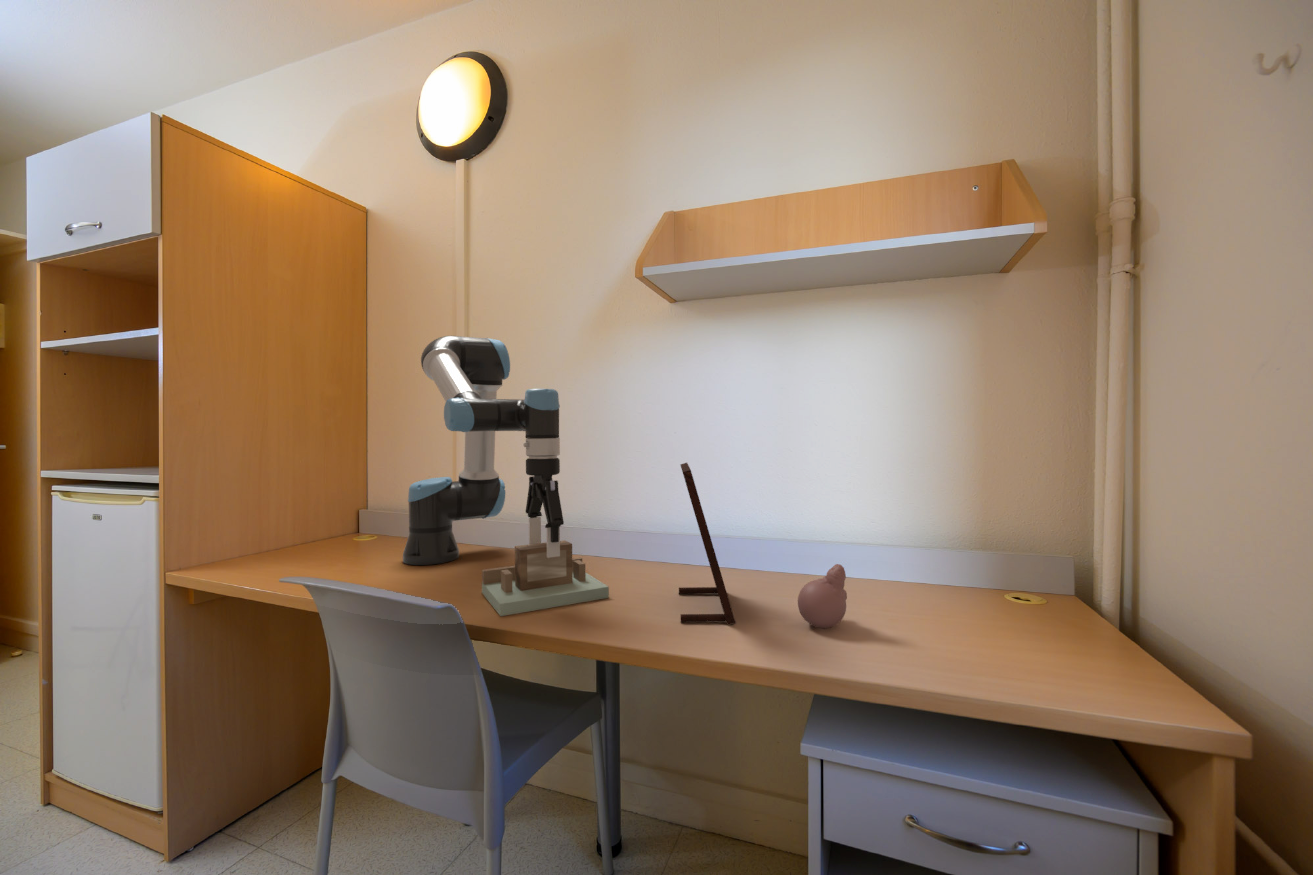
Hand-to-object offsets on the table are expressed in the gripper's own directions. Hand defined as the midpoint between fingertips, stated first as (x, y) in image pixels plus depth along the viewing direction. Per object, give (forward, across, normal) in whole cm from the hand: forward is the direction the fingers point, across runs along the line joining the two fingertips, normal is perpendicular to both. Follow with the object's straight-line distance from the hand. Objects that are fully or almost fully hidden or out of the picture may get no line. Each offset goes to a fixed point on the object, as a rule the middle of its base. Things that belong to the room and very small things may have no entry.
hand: (543, 550), depth 126 cm
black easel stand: (+10, +25, +27) cm, 38 cm away
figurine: (+10, +45, +41) cm, 62 cm away
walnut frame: (+8, 0, 0) cm, 8 cm away
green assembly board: (+10, 0, 0) cm, 10 cm away
